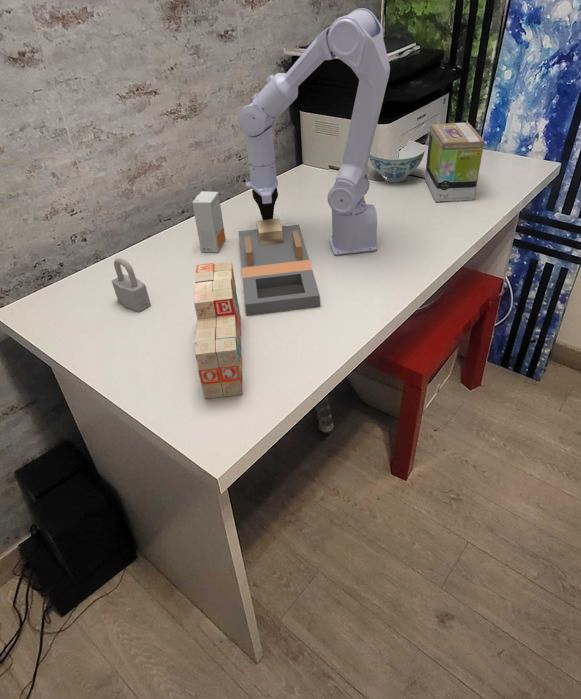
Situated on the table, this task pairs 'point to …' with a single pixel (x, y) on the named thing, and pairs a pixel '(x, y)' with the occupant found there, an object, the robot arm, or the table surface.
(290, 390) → the table surface
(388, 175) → the chinaware
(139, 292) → the padlock
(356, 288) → the table surface
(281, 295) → the tunnel deck
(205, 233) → the skincare box
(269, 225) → the birch block
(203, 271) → the stack of blocks
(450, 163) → the tea box
